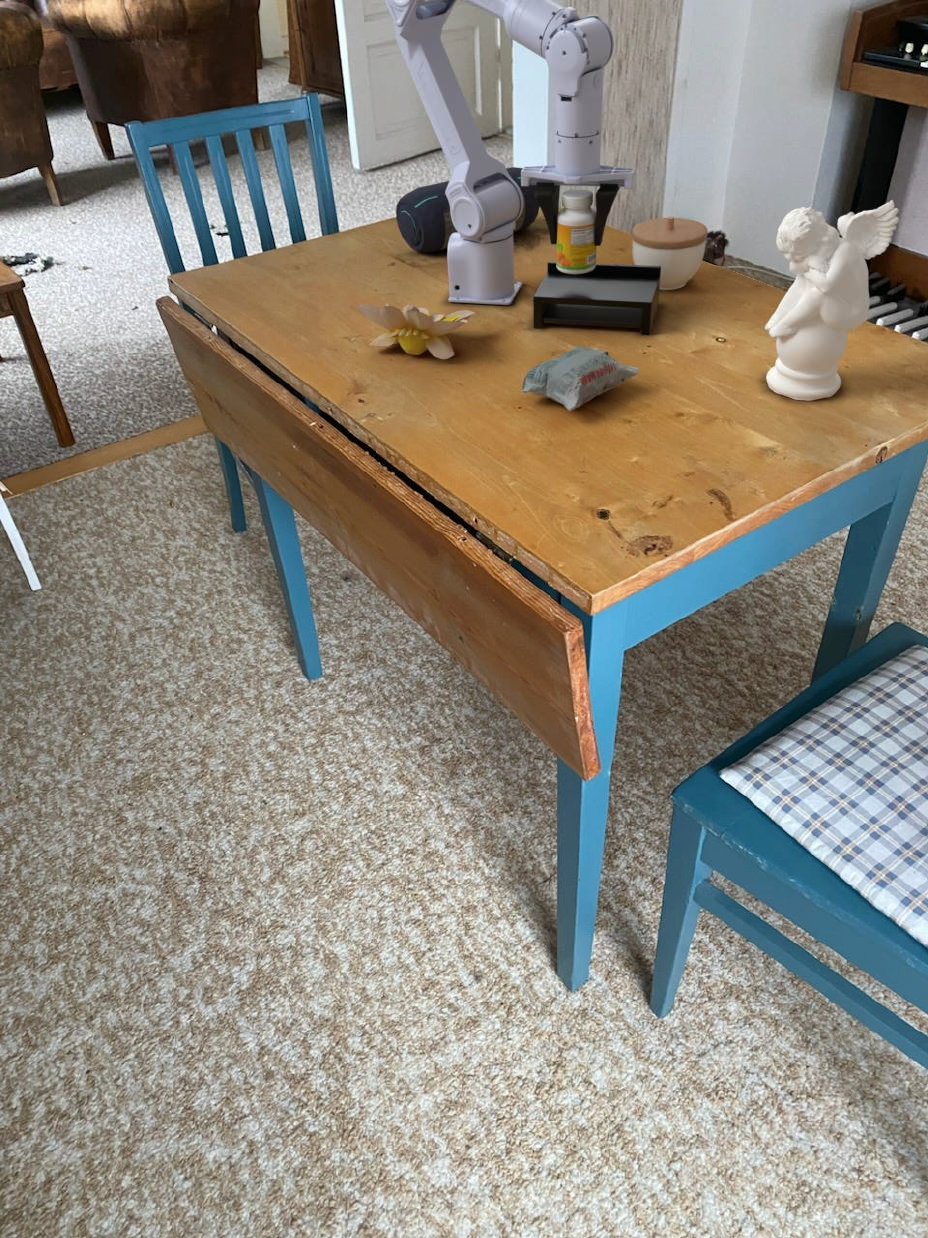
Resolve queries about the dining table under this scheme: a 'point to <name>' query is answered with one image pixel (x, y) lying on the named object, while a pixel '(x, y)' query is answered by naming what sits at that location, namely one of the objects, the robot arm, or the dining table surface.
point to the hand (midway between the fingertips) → (576, 242)
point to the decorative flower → (415, 328)
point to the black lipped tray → (599, 297)
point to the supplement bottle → (576, 233)
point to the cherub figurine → (823, 295)
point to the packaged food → (577, 376)
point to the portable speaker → (447, 214)
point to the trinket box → (670, 248)
